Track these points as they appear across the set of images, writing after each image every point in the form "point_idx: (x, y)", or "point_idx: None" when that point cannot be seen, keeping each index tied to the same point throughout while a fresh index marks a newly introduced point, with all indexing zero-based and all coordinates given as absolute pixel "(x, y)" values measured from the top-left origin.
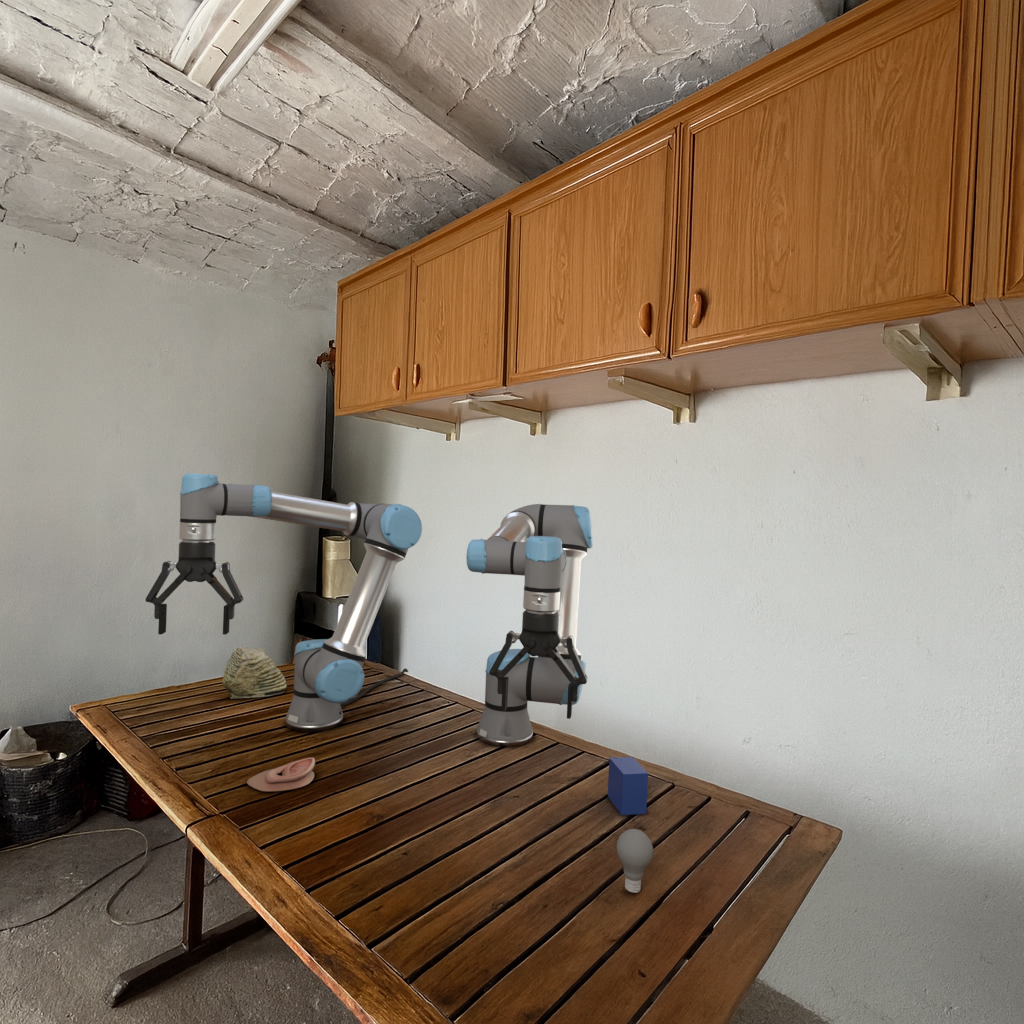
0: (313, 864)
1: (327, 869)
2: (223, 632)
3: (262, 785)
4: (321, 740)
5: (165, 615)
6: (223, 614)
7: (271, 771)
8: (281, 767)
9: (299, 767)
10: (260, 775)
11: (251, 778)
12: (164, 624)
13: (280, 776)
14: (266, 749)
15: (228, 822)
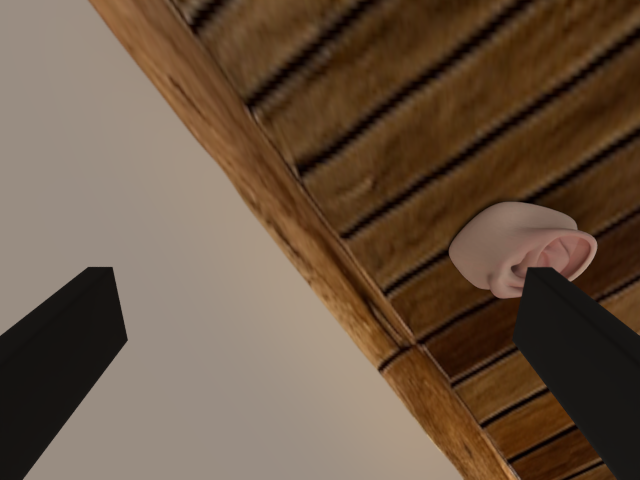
0: (542, 459)
1: (556, 468)
2: (523, 348)
3: (480, 282)
4: (623, 12)
5: (33, 371)
6: (605, 462)
7: (503, 273)
8: (522, 253)
9: (557, 252)
10: (478, 260)
11: (459, 254)
12: (86, 336)
13: (518, 285)
14: (478, 69)
15: (433, 368)
